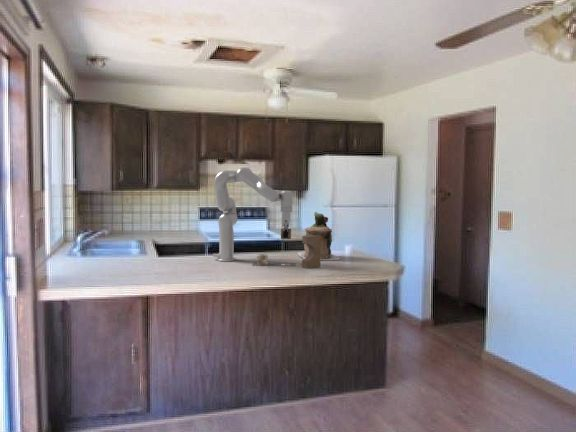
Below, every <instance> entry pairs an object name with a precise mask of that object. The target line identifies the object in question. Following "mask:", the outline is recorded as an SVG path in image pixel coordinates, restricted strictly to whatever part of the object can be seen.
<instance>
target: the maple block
mask: <svg viewBox="0 0 576 432" xmlns="http://www.w3.org/2000/svg"><path fill="white" fill-rule="evenodd" d="M268 261H269V254H268V253H267V254H266V253H258V254H257V255H256V263H257V265H268V263H269V262H268Z"/></svg>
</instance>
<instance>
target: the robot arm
mask: <svg viewBox="0 0 576 432" xmlns="http://www.w3.org/2000/svg"><path fill="white" fill-rule="evenodd" d="M239 182H243V183H245V184H246V185H248V186H249V187H250V188H251V189H253V190H254V191H255V192H256V193H258V194H259V195H260V196H262V197H263V198H264V199H266V200H267V201H269V202H271V203H275V202H280V212H281V227H282V228H283V229H284V231H283V237H284V238H288V229H289V228H290V225H291V224H290V223H291V213H292V212H293V191H291V190H279V189H274V188H272V187H270V186H269V185H267V184H266V183H265V182H264V180H263V178H261V177H260V176H259V175H257V174H256V173H254V172H253V171H252V169H250V167H249V168H248V167H240V168H239V169H231V170H227V169H226V170H222V171H220V172H218V173H217V174H216V175H215V178H214V181H213V186H214V192H215V199H216V207H217V209H218V210H219V211H220V212H222V214H221V215H220V216H219V218H218V219H217V220H218V231H219V232H218V235H219V241H218V242H219V245H218V246H219V247H218V248H219V250H218V251H219V252H218V253H212V257H213V258H216V260H217V261H219V262H233V261H236V260H237V257H235V256H234V253H235V252H234V249H235V248H234V245H235V243H234V235H235V234H234V227H233V226H235V225H236V224H237V222H238V212H237V207H236V202H235V200H234V199H233V198H232V197H231V196H230V195H229V189H228V186H227V184H233V183H234V184H235V183H239Z"/></svg>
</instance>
